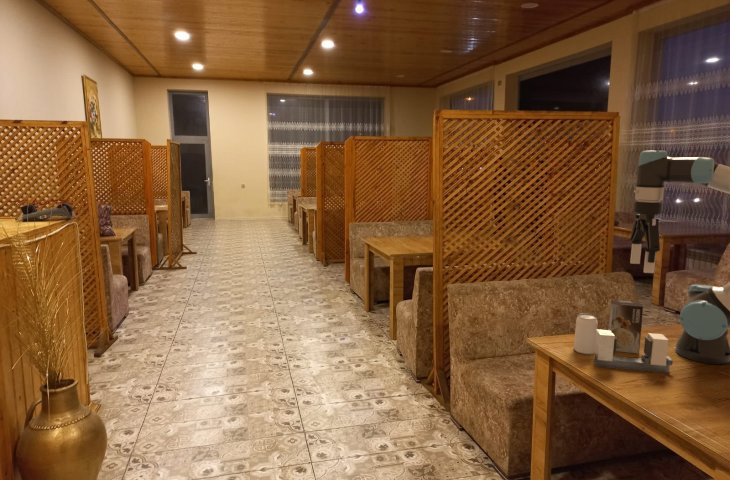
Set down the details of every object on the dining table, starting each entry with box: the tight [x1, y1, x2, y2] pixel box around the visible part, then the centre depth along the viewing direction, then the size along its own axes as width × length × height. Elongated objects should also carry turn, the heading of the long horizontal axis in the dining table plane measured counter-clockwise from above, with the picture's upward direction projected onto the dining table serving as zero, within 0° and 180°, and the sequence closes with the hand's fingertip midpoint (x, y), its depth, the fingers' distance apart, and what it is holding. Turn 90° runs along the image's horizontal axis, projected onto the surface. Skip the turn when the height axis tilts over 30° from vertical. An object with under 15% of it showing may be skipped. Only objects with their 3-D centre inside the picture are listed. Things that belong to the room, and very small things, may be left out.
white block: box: [643, 332, 669, 366], centre depth 151 cm, size 5×5×8 cm
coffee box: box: [608, 299, 644, 354], centre depth 167 cm, size 9×6×16 cm
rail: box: [593, 328, 674, 374], centre depth 153 cm, size 21×5×10 cm, turn 78°
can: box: [573, 313, 599, 355], centre depth 165 cm, size 6×6×12 cm
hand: (641, 268), depth 160 cm, fingers open, 13 cm apart
